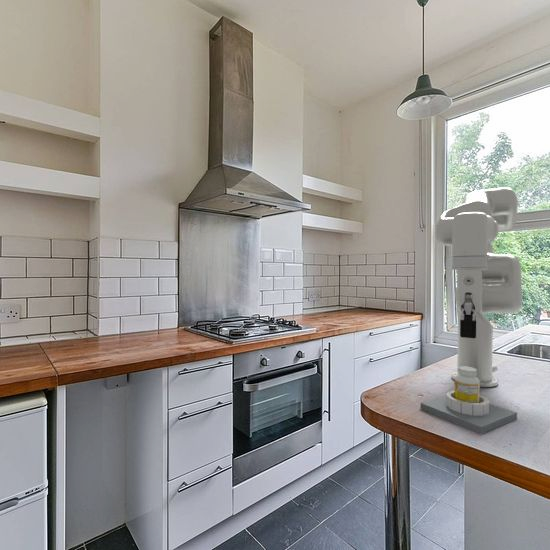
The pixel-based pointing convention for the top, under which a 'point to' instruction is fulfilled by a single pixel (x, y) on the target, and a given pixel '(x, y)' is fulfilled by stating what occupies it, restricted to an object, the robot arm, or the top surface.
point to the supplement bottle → (467, 385)
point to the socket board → (469, 419)
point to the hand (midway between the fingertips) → (468, 333)
